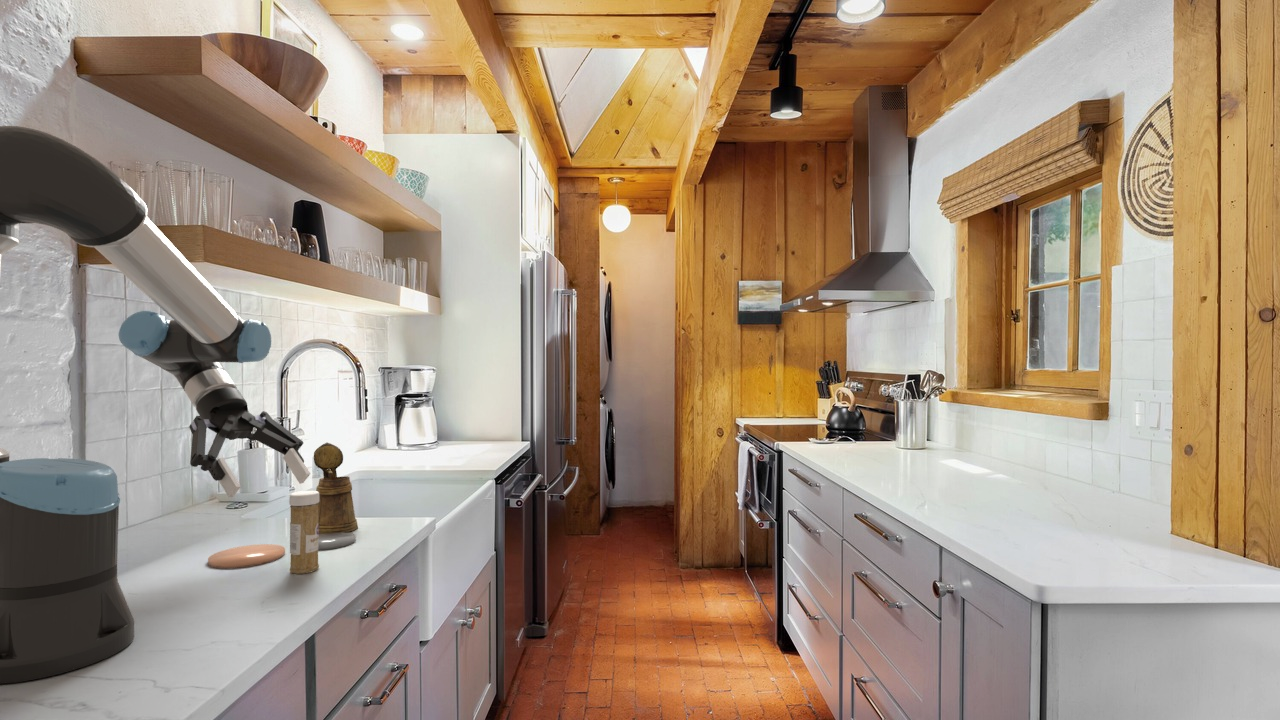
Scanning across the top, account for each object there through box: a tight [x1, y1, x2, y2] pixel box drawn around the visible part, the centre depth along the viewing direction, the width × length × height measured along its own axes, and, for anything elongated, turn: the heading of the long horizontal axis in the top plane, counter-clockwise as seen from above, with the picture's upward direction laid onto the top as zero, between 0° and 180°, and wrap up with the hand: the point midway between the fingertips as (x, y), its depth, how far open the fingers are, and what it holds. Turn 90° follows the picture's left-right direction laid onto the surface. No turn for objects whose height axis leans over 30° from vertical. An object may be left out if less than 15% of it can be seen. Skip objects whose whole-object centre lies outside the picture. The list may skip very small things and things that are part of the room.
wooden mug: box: [313, 442, 359, 534], centre depth 138 cm, size 9×14×18 cm, turn 37°
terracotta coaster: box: [207, 543, 286, 569], centre depth 116 cm, size 12×12×1 cm
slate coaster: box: [318, 532, 357, 551], centre depth 126 cm, size 10×10×1 cm
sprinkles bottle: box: [288, 490, 320, 575], centre depth 109 cm, size 5×5×14 cm
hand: (272, 485), depth 113 cm, fingers open, 13 cm apart
